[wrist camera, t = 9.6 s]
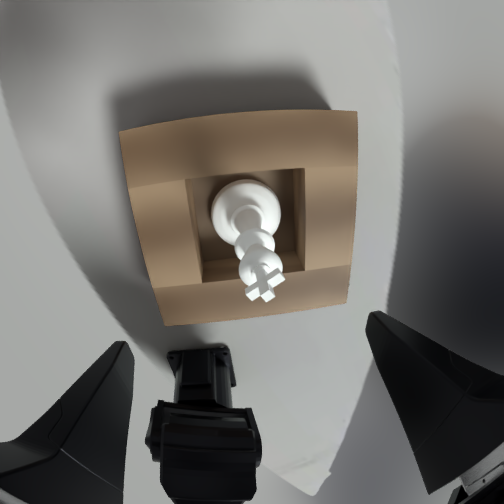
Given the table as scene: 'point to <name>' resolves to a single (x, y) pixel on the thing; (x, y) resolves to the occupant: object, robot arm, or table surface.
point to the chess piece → (251, 233)
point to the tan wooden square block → (233, 169)
